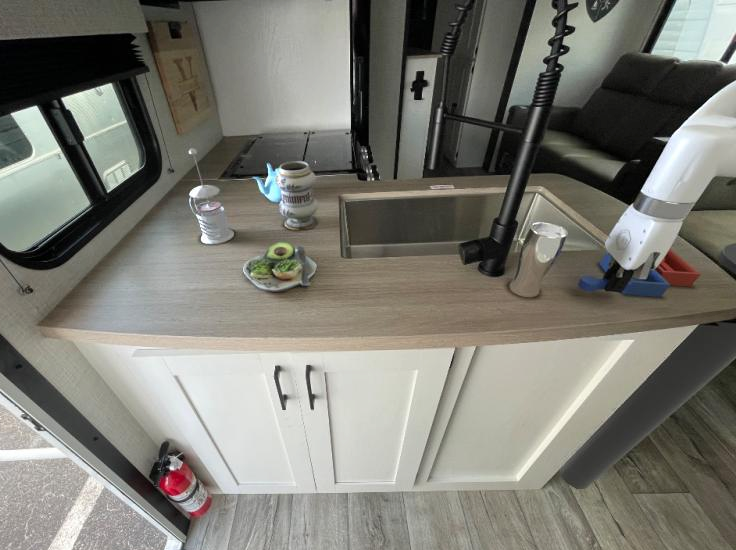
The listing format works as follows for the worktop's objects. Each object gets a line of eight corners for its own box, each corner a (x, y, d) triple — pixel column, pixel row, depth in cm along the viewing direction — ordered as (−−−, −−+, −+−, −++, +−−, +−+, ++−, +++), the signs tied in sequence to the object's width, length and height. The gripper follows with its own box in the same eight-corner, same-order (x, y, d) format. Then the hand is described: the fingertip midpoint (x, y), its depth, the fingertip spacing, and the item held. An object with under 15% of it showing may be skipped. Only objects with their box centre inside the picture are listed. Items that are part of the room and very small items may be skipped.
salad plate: (336, 279, 79) (335, 263, 76) (270, 307, 72) (267, 291, 69) (296, 247, 92) (295, 232, 89) (237, 269, 84) (233, 253, 81)
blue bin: (599, 264, 81) (606, 252, 79) (631, 266, 80) (639, 254, 78) (623, 294, 72) (632, 282, 69) (660, 297, 70) (670, 284, 68)
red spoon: (679, 281, 74) (684, 275, 73) (662, 280, 74) (666, 274, 73) (656, 260, 81) (660, 253, 80) (640, 259, 81) (644, 252, 80)
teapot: (307, 190, 126) (304, 163, 119) (296, 206, 114) (293, 176, 108) (271, 189, 128) (266, 162, 121) (257, 204, 116) (251, 175, 110)
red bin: (627, 256, 83) (634, 244, 81) (659, 257, 82) (667, 246, 80) (654, 284, 74) (663, 271, 72) (690, 286, 73) (701, 274, 71)
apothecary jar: (286, 235, 98) (277, 174, 86) (278, 218, 107) (269, 162, 95) (324, 227, 101) (320, 168, 89) (313, 212, 110) (308, 156, 98)
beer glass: (511, 297, 72) (536, 237, 62) (503, 279, 77) (525, 221, 68) (545, 299, 71) (575, 238, 61) (534, 281, 76) (560, 222, 67)
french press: (218, 246, 94) (191, 155, 78) (189, 238, 98) (158, 151, 82) (240, 232, 100) (219, 145, 84) (212, 225, 104) (187, 141, 89)
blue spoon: (622, 284, 70) (626, 277, 68) (630, 294, 67) (635, 287, 66) (575, 281, 71) (578, 274, 70) (581, 291, 68) (585, 284, 67)
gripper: (616, 188, 63) (576, 266, 75) (663, 224, 52) (607, 310, 63) (660, 189, 62) (612, 268, 74) (718, 226, 50) (651, 313, 62)
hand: (610, 287), depth 69 cm, fingers closed on blue spoon, 1 cm apart
